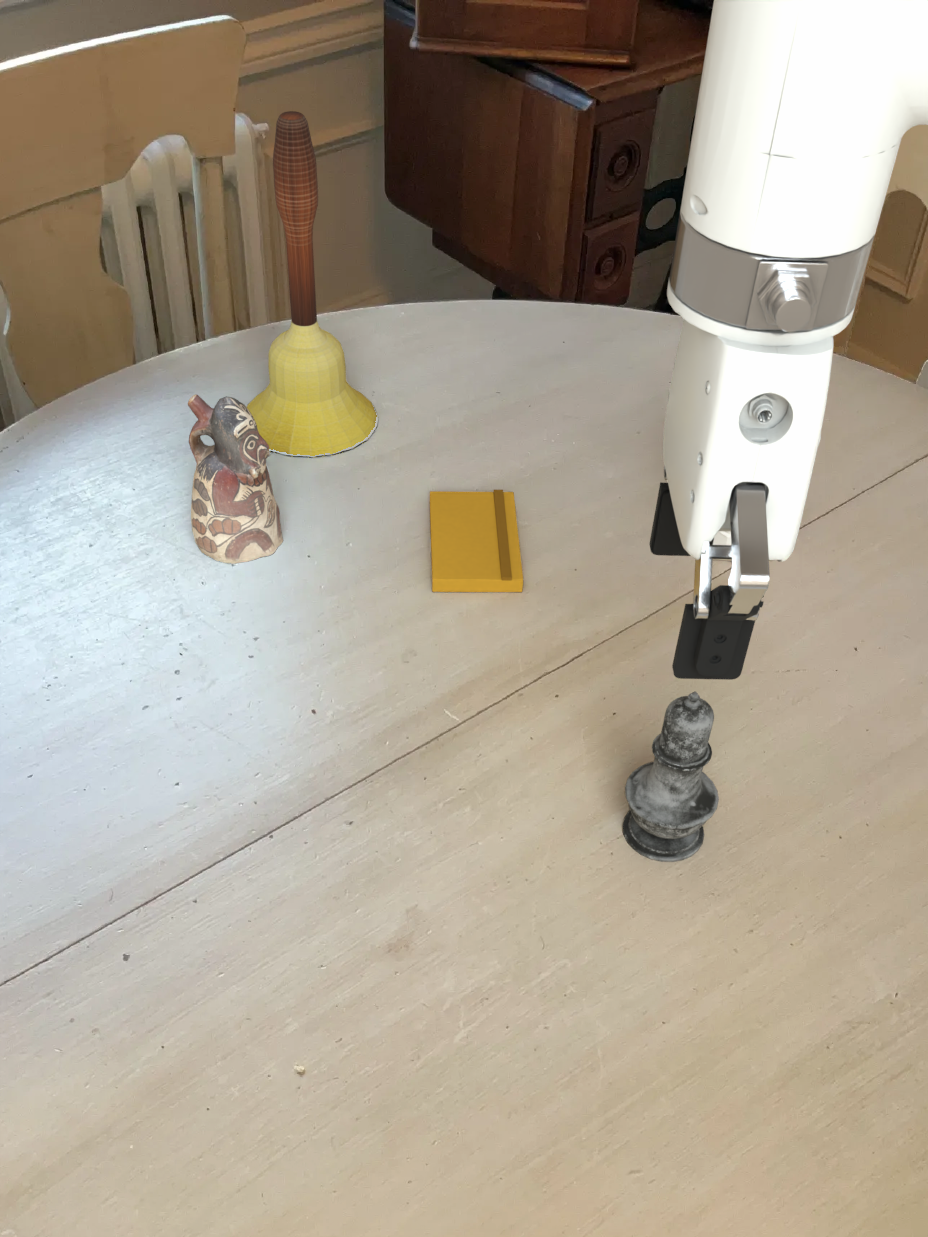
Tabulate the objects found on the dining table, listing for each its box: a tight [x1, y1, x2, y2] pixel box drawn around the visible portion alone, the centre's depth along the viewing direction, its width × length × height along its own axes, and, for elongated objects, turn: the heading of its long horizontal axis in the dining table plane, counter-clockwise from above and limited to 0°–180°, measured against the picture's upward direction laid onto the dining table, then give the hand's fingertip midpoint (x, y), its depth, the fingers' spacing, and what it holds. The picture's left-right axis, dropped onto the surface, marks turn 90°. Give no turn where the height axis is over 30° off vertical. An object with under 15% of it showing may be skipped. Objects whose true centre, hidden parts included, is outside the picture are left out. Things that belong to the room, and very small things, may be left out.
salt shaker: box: [622, 691, 720, 863], centre depth 77 cm, size 6×6×12 cm
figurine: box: [187, 394, 284, 565], centre depth 97 cm, size 7×7×12 cm
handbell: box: [246, 110, 378, 456], centre depth 104 cm, size 12×12×25 cm
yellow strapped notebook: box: [429, 489, 524, 593], centre depth 101 cm, size 12×7×1 cm, turn 2°
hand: (691, 610), depth 63 cm, fingers open, 9 cm apart
